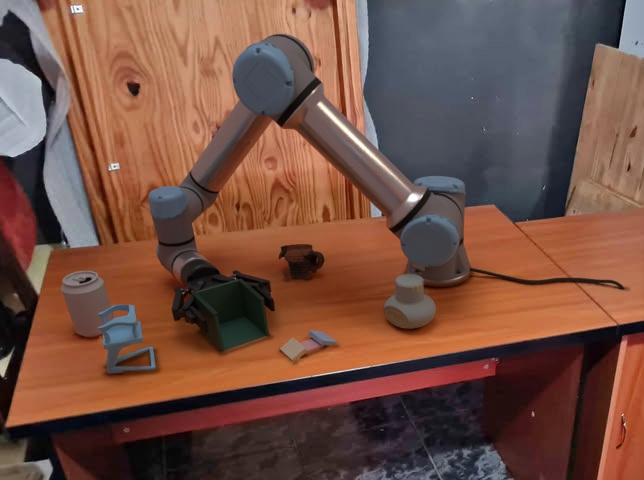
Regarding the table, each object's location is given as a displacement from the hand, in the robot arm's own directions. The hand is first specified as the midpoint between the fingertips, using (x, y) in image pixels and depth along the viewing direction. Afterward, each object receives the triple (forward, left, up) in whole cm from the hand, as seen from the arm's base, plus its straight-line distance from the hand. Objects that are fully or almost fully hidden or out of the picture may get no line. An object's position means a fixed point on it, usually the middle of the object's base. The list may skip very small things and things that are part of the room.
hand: (240, 315), depth 131 cm
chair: (+19, +8, -7) cm, 22 cm away
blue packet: (-15, -1, -5) cm, 16 cm away
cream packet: (-10, +3, -5) cm, 12 cm away
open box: (+3, -4, -7) cm, 8 cm away
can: (+31, -4, -7) cm, 32 cm away
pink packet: (-13, +1, -6) cm, 14 cm away
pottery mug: (-5, -32, -7) cm, 33 cm away
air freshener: (-32, -11, -7) cm, 34 cm away
